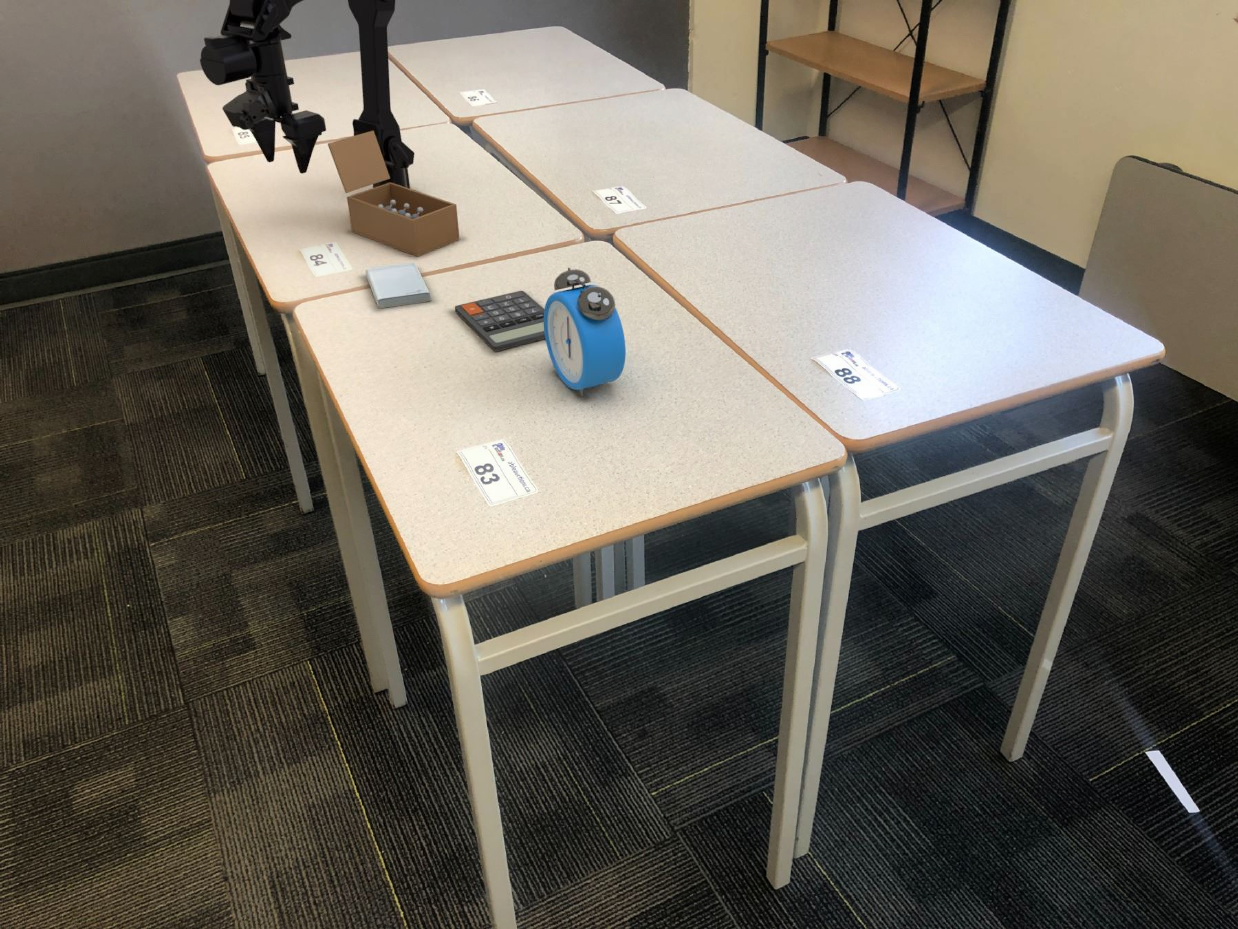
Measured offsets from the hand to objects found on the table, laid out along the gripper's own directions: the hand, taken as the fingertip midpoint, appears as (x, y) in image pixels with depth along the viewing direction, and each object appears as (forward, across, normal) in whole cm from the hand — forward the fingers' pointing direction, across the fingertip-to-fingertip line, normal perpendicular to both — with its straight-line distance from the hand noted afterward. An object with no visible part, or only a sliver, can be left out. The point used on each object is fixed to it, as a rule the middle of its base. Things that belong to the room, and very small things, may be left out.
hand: (286, 167), depth 164 cm
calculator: (+12, +53, -1) cm, 55 cm away
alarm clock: (+12, +73, -8) cm, 75 cm away
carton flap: (+1, +5, +11) cm, 13 cm away
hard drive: (+12, +31, -4) cm, 34 cm away
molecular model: (+12, +16, +12) cm, 23 cm away
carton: (+12, +15, +11) cm, 23 cm away
